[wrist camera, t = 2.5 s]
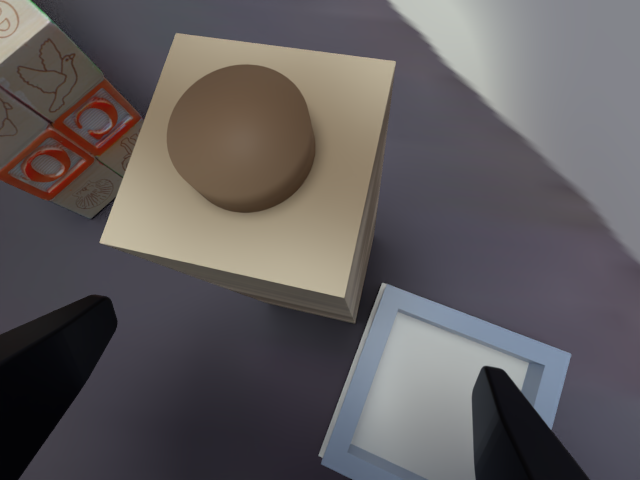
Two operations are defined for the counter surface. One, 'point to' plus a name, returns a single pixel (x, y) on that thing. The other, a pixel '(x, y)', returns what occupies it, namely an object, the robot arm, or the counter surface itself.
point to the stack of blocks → (59, 115)
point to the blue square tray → (428, 389)
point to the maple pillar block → (260, 172)
